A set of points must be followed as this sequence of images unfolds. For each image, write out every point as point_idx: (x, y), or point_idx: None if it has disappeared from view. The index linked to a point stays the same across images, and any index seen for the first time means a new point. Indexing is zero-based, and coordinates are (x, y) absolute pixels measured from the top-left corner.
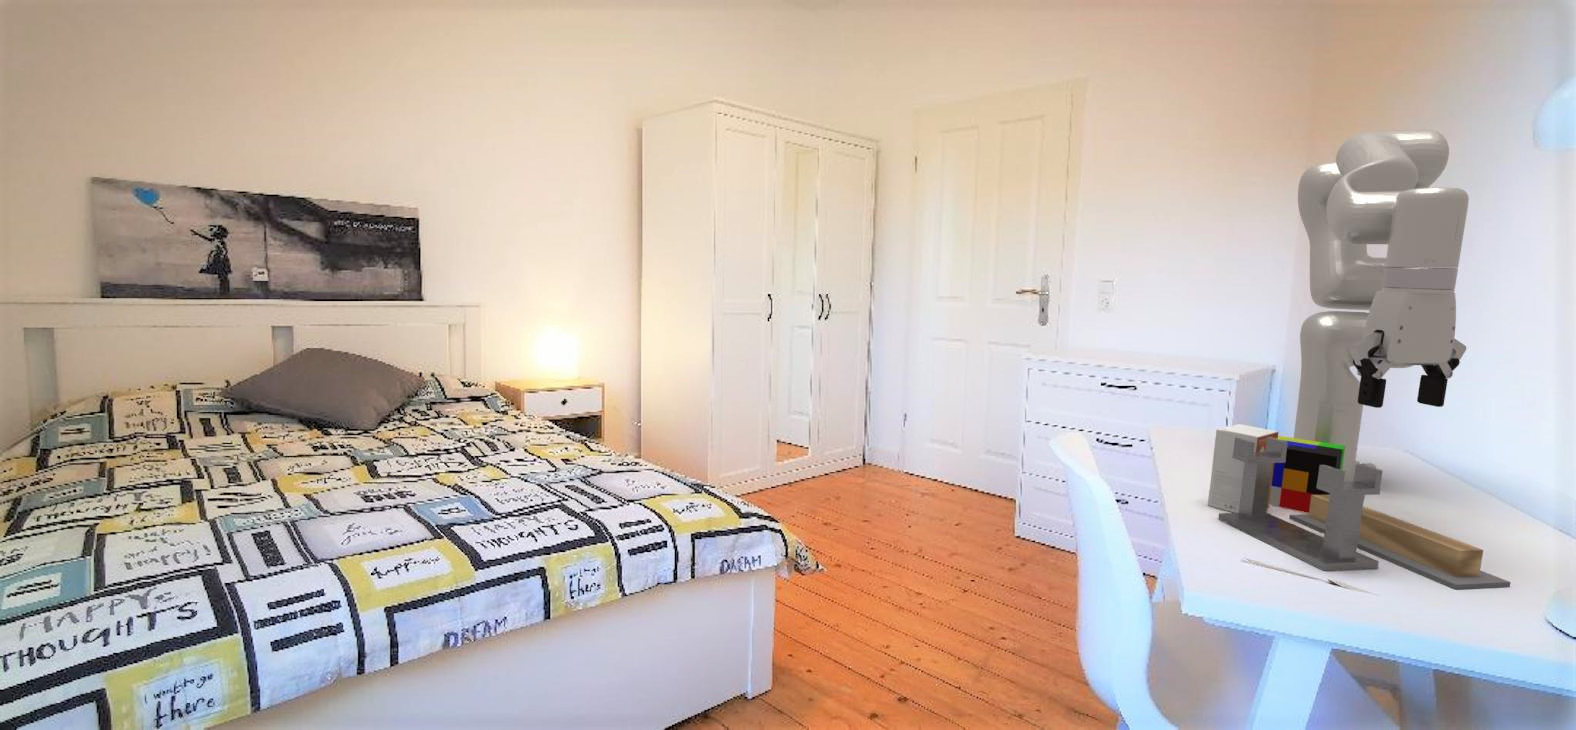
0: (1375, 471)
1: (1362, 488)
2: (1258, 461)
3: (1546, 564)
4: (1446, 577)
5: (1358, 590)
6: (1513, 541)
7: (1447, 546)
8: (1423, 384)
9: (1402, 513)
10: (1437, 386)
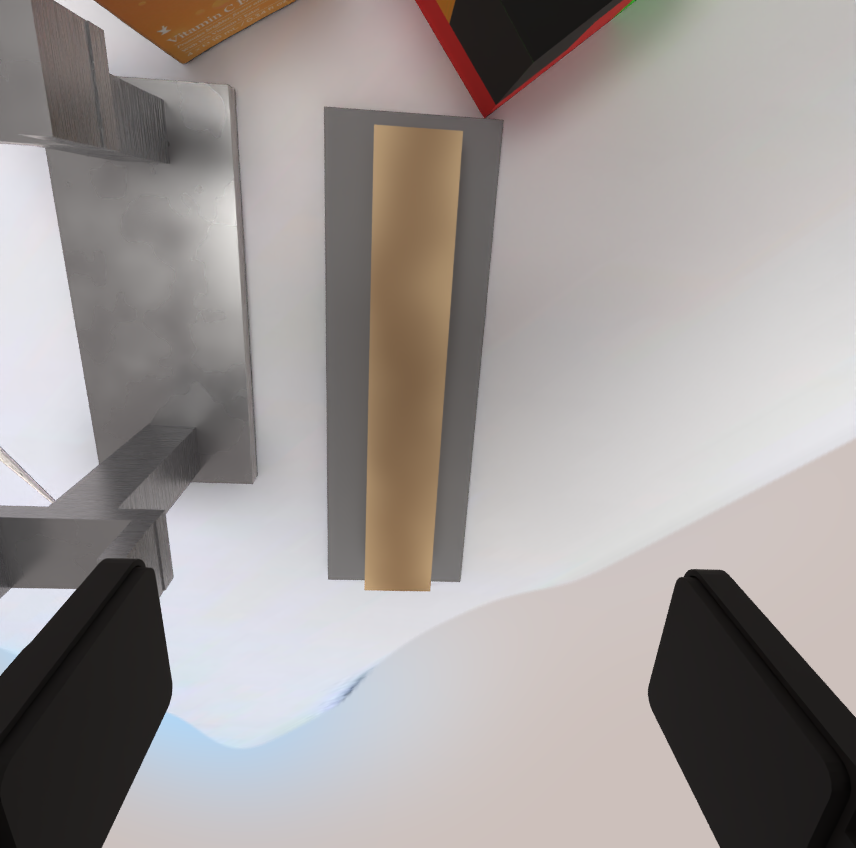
0: None
1: None
2: None
3: (687, 501)
4: (344, 552)
5: None
6: (805, 381)
7: (365, 566)
8: (765, 722)
9: (784, 125)
10: (729, 825)
